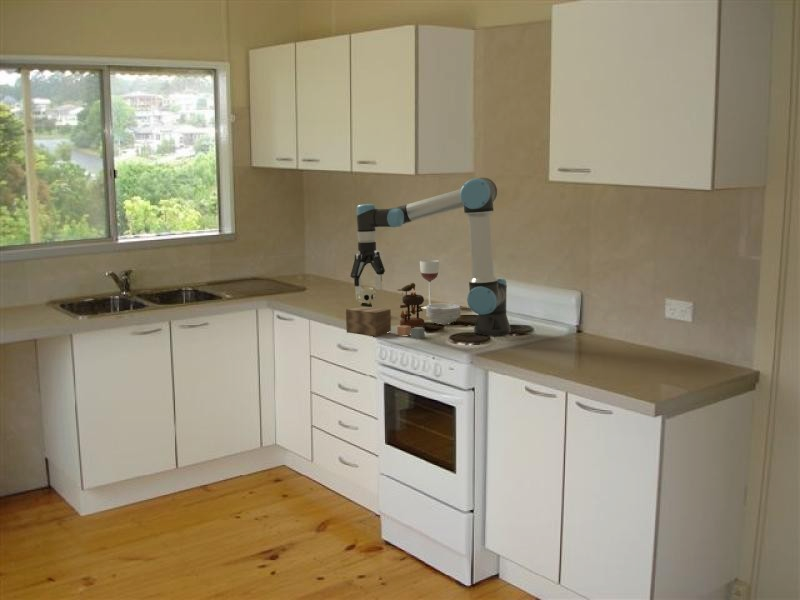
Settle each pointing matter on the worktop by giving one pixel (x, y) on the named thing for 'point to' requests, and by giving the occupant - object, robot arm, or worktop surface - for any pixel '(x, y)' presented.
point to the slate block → (418, 332)
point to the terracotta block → (404, 330)
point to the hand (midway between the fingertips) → (368, 291)
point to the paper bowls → (443, 312)
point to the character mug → (366, 297)
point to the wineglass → (429, 273)
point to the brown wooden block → (368, 320)
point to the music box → (408, 301)
